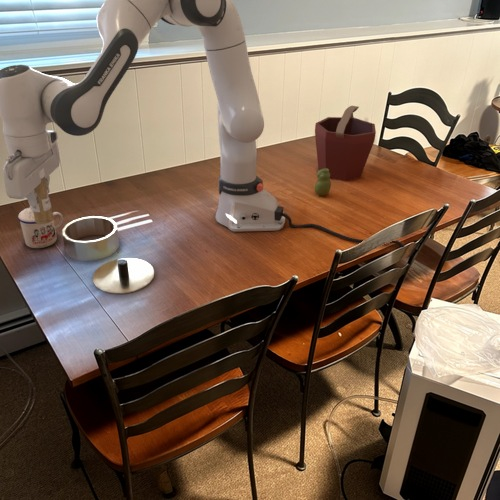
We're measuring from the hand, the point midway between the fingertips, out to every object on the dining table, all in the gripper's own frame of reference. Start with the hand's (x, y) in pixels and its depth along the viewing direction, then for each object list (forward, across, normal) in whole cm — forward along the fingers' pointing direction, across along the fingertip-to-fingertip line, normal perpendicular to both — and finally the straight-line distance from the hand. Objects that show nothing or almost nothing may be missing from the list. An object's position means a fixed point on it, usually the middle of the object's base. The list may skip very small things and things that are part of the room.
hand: (39, 199), depth 116 cm
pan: (+22, +14, -5) cm, 26 cm away
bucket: (+22, +81, -81) cm, 116 cm away
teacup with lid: (+22, +17, +10) cm, 29 cm away
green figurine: (+22, +59, -72) cm, 95 cm away
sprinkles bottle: (+6, 0, 0) cm, 6 cm away
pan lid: (+21, +1, -18) cm, 28 cm away
